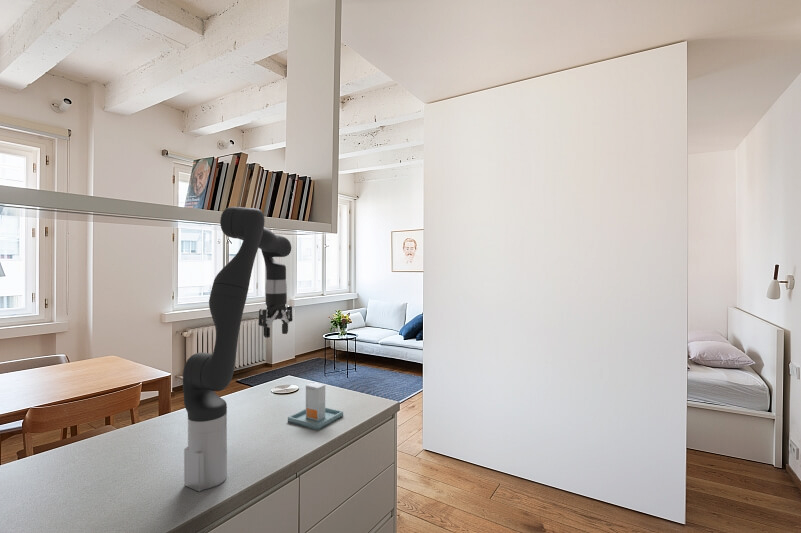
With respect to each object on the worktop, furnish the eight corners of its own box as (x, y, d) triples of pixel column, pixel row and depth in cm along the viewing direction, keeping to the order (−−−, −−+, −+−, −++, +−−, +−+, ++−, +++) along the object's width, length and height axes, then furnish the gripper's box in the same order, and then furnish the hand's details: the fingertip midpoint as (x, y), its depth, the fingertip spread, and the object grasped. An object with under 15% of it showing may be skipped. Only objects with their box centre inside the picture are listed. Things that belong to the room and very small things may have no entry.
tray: (318, 430, 135) (318, 425, 135) (287, 422, 142) (287, 417, 142) (343, 416, 148) (343, 411, 148) (314, 409, 154) (314, 404, 154)
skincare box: (305, 418, 144) (305, 385, 144) (313, 414, 148) (313, 382, 148) (318, 421, 141) (318, 387, 141) (325, 417, 145) (325, 384, 145)
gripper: (268, 293, 139) (268, 339, 140) (297, 291, 152) (297, 333, 152) (253, 292, 143) (253, 337, 143) (283, 290, 155) (283, 331, 156)
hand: (276, 335), depth 148 cm, fingers open, 8 cm apart
